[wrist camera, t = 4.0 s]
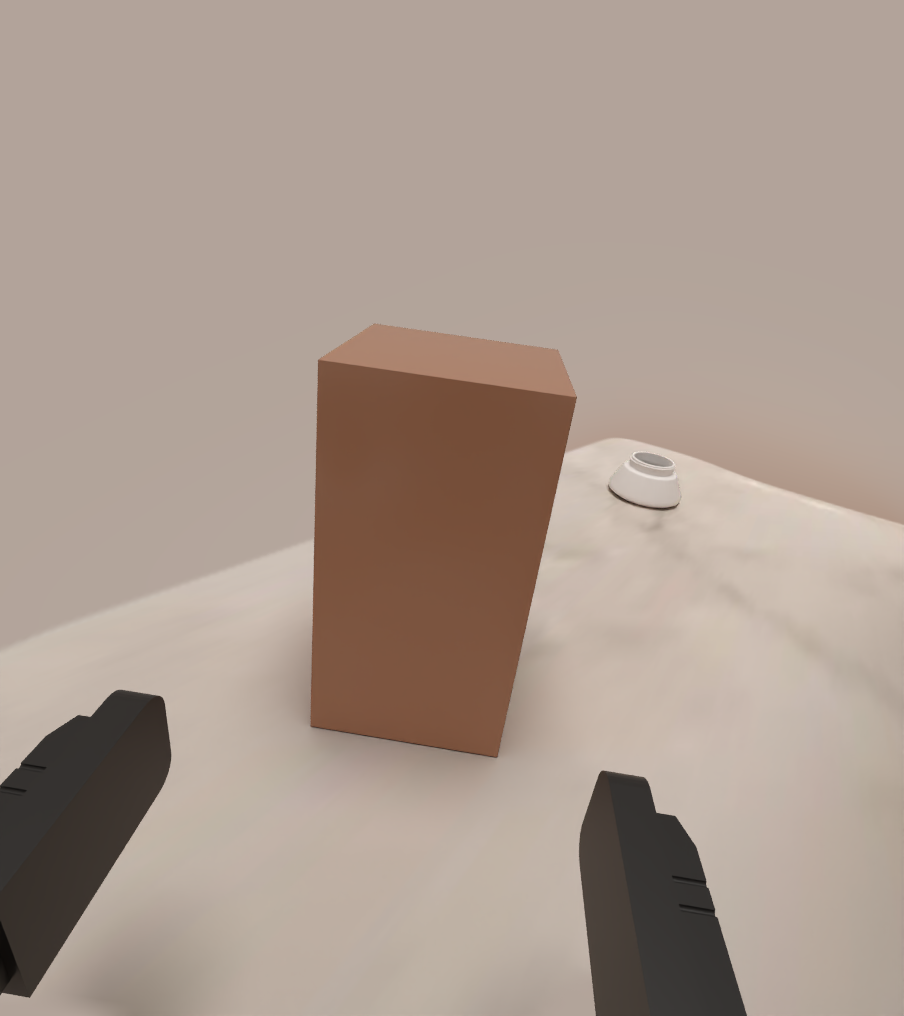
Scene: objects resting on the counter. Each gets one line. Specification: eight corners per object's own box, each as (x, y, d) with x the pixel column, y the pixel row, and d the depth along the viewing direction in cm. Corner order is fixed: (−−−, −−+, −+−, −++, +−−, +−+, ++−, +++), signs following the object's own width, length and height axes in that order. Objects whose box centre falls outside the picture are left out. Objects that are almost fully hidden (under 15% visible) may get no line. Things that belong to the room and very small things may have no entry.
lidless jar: (597, 494, 41) (666, 519, 39) (607, 456, 40) (679, 480, 38) (621, 476, 45) (685, 498, 43) (631, 441, 44) (697, 462, 42)
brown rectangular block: (500, 637, 25) (557, 350, 20) (497, 756, 19) (576, 397, 14) (356, 614, 25) (374, 323, 20) (310, 726, 20) (318, 359, 14)
